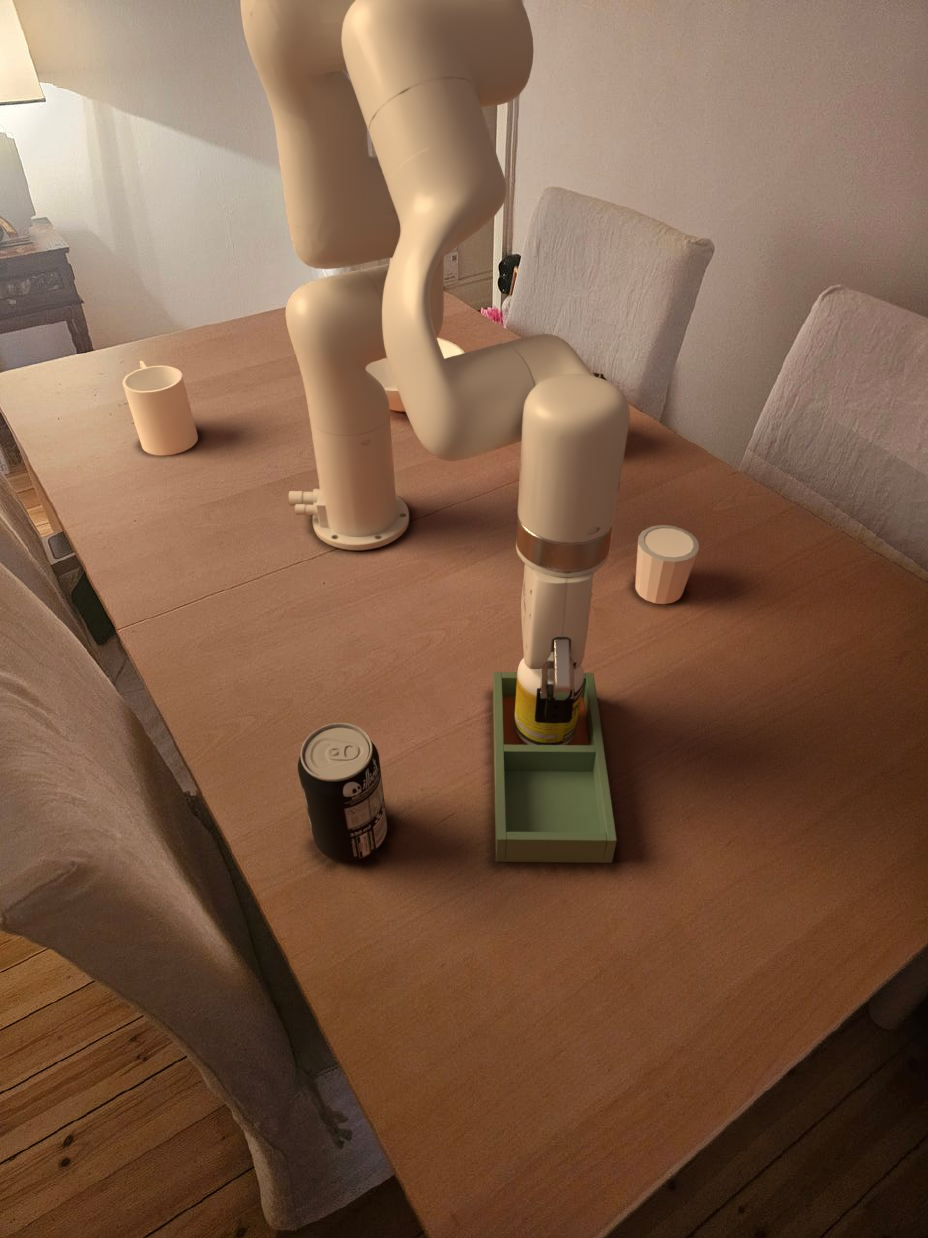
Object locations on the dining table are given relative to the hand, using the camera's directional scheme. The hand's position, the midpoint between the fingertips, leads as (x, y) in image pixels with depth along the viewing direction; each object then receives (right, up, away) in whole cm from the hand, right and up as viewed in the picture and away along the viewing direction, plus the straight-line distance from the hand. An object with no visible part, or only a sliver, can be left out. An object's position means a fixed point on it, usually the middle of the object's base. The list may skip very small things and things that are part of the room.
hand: (549, 680), depth 77 cm
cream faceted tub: (+15, +9, +22) cm, 28 cm away
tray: (0, -9, +2) cm, 9 cm away
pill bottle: (0, -5, +5) cm, 7 cm away
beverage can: (-18, -14, -3) cm, 23 cm away
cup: (-53, +34, +48) cm, 79 cm away
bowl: (-17, +41, +56) cm, 71 cm away
